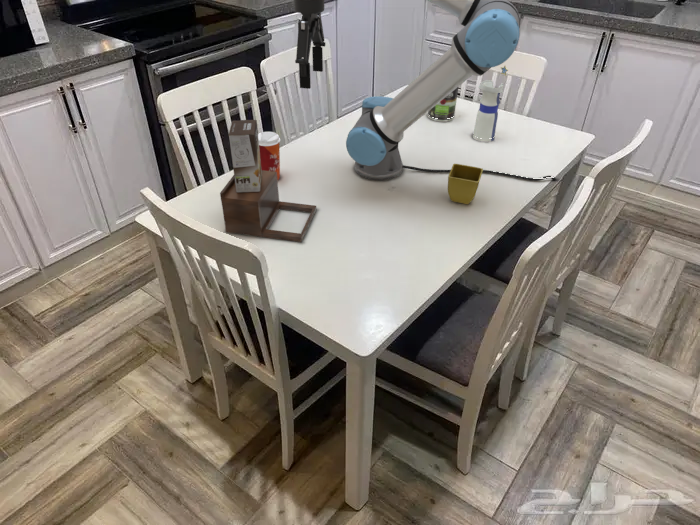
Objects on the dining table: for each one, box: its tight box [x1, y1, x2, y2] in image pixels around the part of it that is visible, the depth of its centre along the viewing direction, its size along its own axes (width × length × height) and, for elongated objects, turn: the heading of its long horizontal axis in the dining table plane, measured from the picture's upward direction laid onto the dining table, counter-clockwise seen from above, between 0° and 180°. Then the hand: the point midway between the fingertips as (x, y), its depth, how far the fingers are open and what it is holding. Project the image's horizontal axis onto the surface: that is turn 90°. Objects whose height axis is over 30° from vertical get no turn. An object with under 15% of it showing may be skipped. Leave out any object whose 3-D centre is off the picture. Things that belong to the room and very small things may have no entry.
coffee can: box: [427, 86, 460, 123], centre depth 202 cm, size 10×10×14 cm
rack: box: [219, 170, 317, 243], centre depth 145 cm, size 21×16×12 cm
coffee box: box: [228, 119, 262, 193], centre depth 138 cm, size 9×6×16 cm
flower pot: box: [447, 163, 484, 205], centre depth 156 cm, size 9×9×9 cm
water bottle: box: [472, 65, 509, 143], centre depth 185 cm, size 8×9×25 cm
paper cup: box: [258, 131, 281, 181], centre depth 163 cm, size 8×8×14 cm
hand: (311, 79), depth 147 cm, fingers open, 13 cm apart
